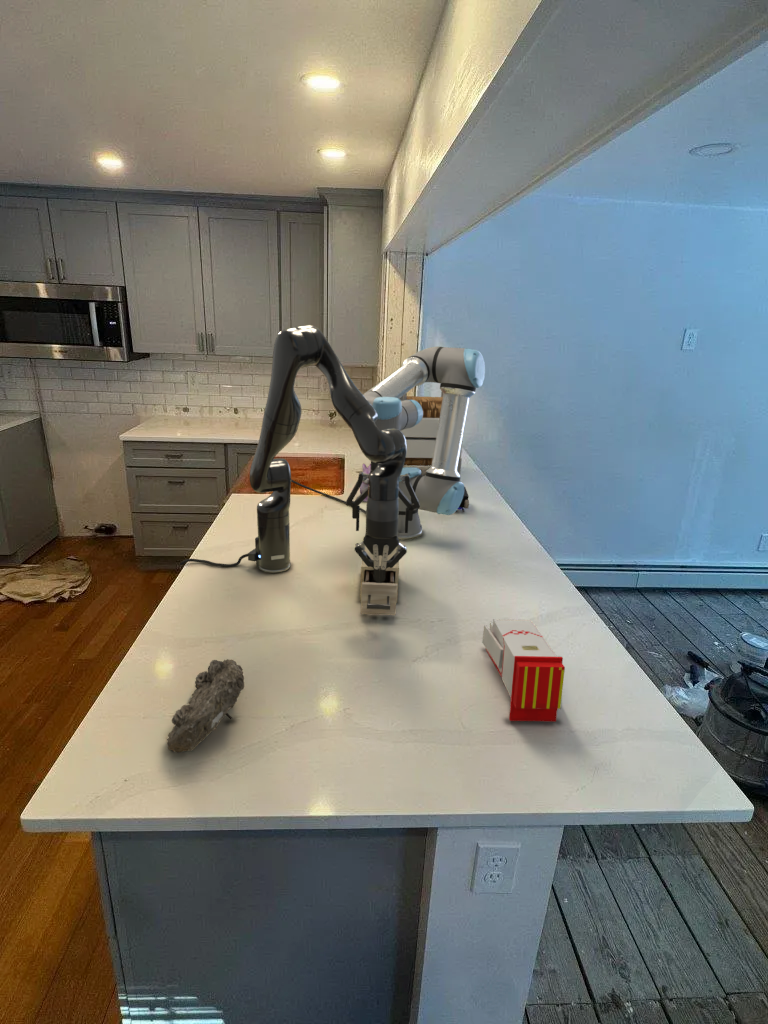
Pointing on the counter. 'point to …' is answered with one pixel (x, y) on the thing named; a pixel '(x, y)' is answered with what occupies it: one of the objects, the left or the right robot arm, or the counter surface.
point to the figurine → (365, 483)
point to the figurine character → (464, 501)
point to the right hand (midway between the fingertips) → (381, 530)
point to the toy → (526, 669)
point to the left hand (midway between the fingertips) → (379, 581)
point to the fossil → (206, 705)
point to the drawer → (379, 594)
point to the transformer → (424, 433)
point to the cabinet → (365, 567)
